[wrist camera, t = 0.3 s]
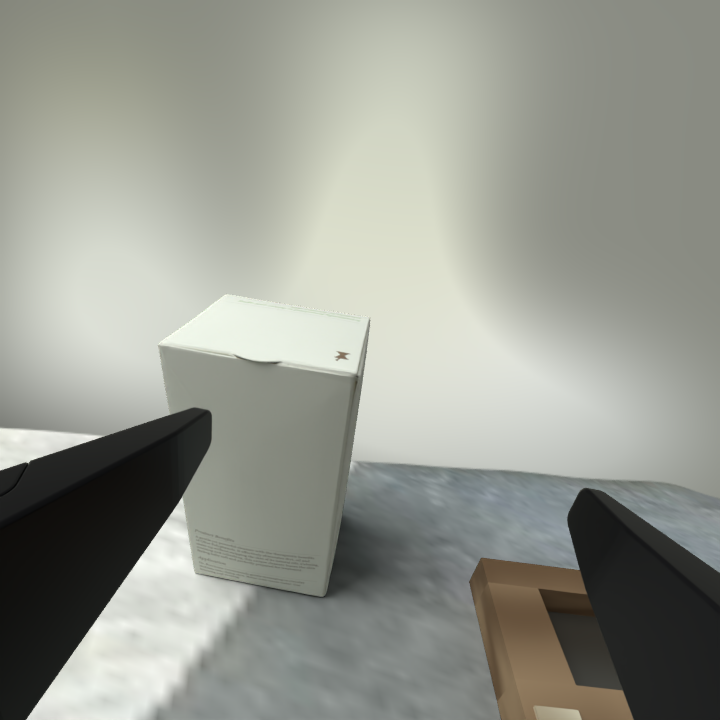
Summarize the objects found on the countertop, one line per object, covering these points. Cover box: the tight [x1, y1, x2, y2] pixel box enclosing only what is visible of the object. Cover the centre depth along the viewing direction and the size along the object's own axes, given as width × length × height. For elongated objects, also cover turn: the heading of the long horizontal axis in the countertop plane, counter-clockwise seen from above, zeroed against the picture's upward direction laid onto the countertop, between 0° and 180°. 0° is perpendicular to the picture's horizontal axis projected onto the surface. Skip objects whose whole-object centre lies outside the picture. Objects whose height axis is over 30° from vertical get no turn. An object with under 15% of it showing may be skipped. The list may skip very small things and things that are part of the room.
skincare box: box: [158, 294, 370, 597], centre depth 20 cm, size 8×7×16 cm
